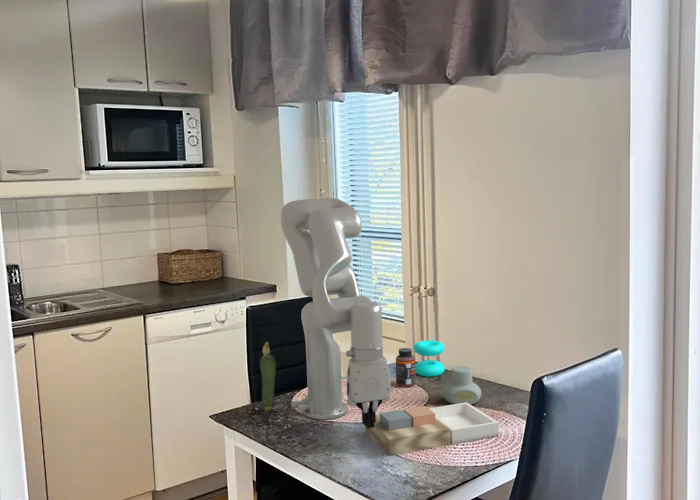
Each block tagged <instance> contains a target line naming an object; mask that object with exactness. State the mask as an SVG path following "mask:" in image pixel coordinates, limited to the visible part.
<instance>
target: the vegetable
mask: <svg viewBox="0 0 700 500" xmlns="http://www.w3.org/2000/svg"><path fill="white" fill-rule="evenodd" d="M269 344H270V343H269V341H266V342H265V343H264V345H263V347H262V354H263V355H262V356H261V358H260V360H259V369H260V374H261V375H260V376H261V402H262V406H263V408H264V411H265V412H267V411H271V410H272V409H273V405H274V401H275V400H274V399H275V377H276V366H277V364H276V359H275V356H273V355H272V354H271V350H270V345H269Z"/></svg>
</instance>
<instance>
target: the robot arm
mask: <svg viewBox="0 0 700 500" xmlns="http://www.w3.org/2000/svg"><path fill="white" fill-rule="evenodd" d="M280 225H281V229H282V233H283V235H284V237H285V240H286V241H287V244H288V245H289V247H290V251H291V252H292V255H293V261H294V265H295V270H296V275H297V278H298V283H299V287H300V290H301V292H302V294H303V295H304V296H306V297H310V298H311V297H312V301H310V302H308V303H306V304H305V305H304V306H303V308H302V309H301V314H300V315H301V317H300V318H301V323H302V327H303V333H304V334H303V335H304V340H305V354H306V355H305V357H306V378H307V379H306V382H307V394H304V398H302V399H301V400H294V401H293V400H292V401H290V405H291V406H290V407H291V409H298V410H302V413H303V415H304V416H306V417H308V418H310V419H315V420H331V419H332V420H333V419H337V418H340V417H342V416H345V415H346V414H347V413H348V412H349V407H354V408H355V407H356V408H358V409H360V410H361V422H362V425H363V426H364V427H365V426H366V427H367V428H371V427H372V428H374V423H375V422H376V415H377V414H376V412H377V411H378V409H379V407H380V405H381V404H382V403H385V402H387V401H390V399H391V398H390V397H391V393H392V390H391V389H392V388H391V387H392V386H391V378H390V371H389V370H390V369H389V366H388V361H387V357H385V356H384V354H383V353H384V352H383V351H384V349H383V316H382V315H383V312H382V306H381V305H380V304H379V303H378V302H375V301H372V300H371V298H369V297H368V296H365V295H361V293H360V289H359V285H358V280H357V276H356V274H355V270H354V269H353V267H352V265H351V262H352V260H353V258H352V256H353V255H352V254H351V251H350V248H349V246H348V242H347V239H354V238H357V237H358V236H359V235H360V234H361V232H362V229H363V228H362V227H363V225H362V219H361V216H360V214H359V212H358V211H357V210H356V208H354V206H351V204H349V203H347V202H345V201H344V200H341V199H339V198H336V197H335V198H333V197H331V198H327V197H326V198H307V199H304V198H303V199H297V200H291V201H289V202H287V203H286V204H284V205H283V207H282V209H281V211H280ZM308 230H309V231H308ZM333 295H335V296H336V295H337V297H335V298H330V297H329V296H333ZM345 332H350V339H351V341H350V342H351V344H350V345H351V346H350V349H349V350H346V351H345V355H346V357H350V358H349V360H348V366H347V371H346V373H347V374H346V396H347V401H346V403H345V402H343V388H342V387H343V386H342V385H343V381H342V356H341V355H342V352H341V348H340V346H339V344H338V342H337V341H336V340H335V339H334V338H333V336H332V335H333V334H337V333H338V334H339V333H345Z"/></svg>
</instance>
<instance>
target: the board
mask: <svg viewBox="0 0 700 500" xmlns="http://www.w3.org/2000/svg"><path fill="white" fill-rule="evenodd" d="M364 427H365V430H364V432H365V433H366V434H367V435H368V436H369V437H370V438H371V440H373V441H374V442H375V443H376V444H377V445H378V446H379V447H381V449H383V451H384V452H386V453H387V454H388V456H394V455H395V456H396V455H400V454H407V453H411V452H412V453H413V452H418V451H423V450H428V449H434V448H440V447H445V446H450V445H451V443H450V428H448V427H447V426H446V425H444V424H443V423H442V422H440V421H439V420H438V419H436V418H435V423H431V424H425V425H419V426H412V427H407V428H401V429H396V430H390V431H389V430H388V429H387V428H386V427H384V426H383V425H382V424H381V423H380V415H379V414H376V422H375V423H374V428H372V427H371V428H367V427H366V426H365V425H364Z"/></svg>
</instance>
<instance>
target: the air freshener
mask: <svg viewBox="0 0 700 500" xmlns="http://www.w3.org/2000/svg"><path fill="white" fill-rule="evenodd" d="M450 371H451V372H450V377H451V379H450V382H448V383H446V384H445V386H443V389H442V396H443V398H444V400H446V401H447V402H448V403H450V404H451V405H453V404H459V403H466V402H467V403H469V404H470V405H473V404H475V403H477V402H478V401H479V400H480V398H481V397H482V389H481V388H480V386H479V385H478V384H477V383H475V382H473V369H472V368H471V367H470V366H465V365H458V366H457V365H456V366H453V367H452V368H451V370H450Z"/></svg>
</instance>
